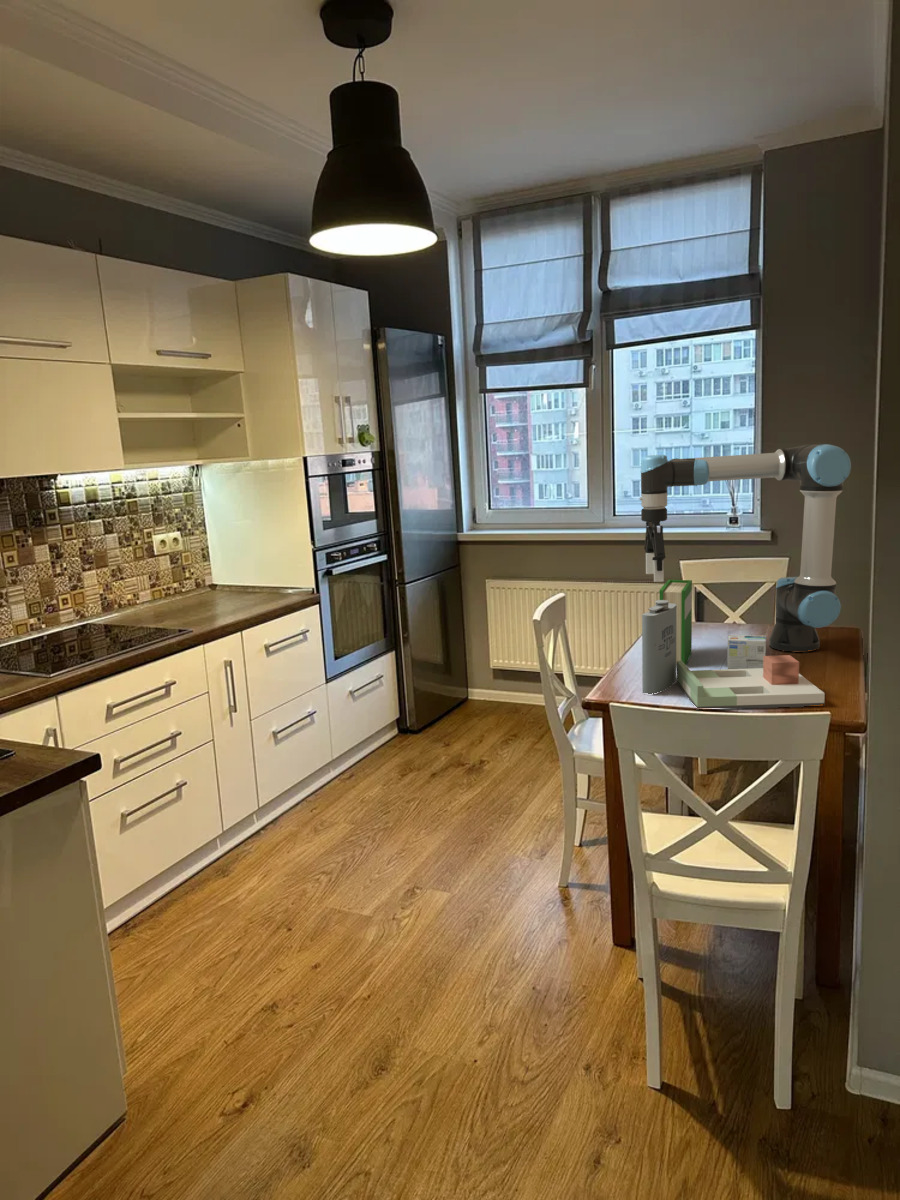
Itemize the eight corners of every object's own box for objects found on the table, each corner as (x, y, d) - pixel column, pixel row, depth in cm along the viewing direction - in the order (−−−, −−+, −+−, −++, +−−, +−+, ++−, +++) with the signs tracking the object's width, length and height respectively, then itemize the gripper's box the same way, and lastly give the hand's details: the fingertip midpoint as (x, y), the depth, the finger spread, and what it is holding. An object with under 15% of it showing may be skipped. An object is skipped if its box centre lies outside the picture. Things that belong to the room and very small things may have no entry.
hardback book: (684, 668, 248) (684, 590, 244) (659, 666, 251) (659, 590, 247) (691, 653, 264) (692, 580, 260) (668, 652, 267) (668, 579, 262)
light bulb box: (765, 670, 242) (766, 634, 240) (766, 676, 236) (766, 640, 234) (727, 668, 246) (727, 633, 244) (727, 674, 240) (727, 639, 238)
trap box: (790, 679, 233) (791, 657, 231) (824, 706, 209) (825, 682, 208) (676, 682, 235) (676, 661, 233) (697, 710, 211) (697, 686, 210)
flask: (656, 696, 224) (656, 607, 219) (640, 693, 227) (640, 605, 222) (680, 679, 237) (681, 595, 232) (665, 677, 240) (665, 594, 235)
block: (789, 676, 224) (789, 655, 223) (798, 683, 217) (799, 662, 216) (763, 677, 224) (763, 656, 223) (771, 684, 217) (772, 663, 216)
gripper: (634, 504, 257) (635, 571, 261) (648, 512, 232) (649, 585, 236) (658, 503, 256) (659, 570, 260) (675, 510, 232) (675, 584, 236)
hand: (654, 577), depth 248 cm, fingers open, 13 cm apart
